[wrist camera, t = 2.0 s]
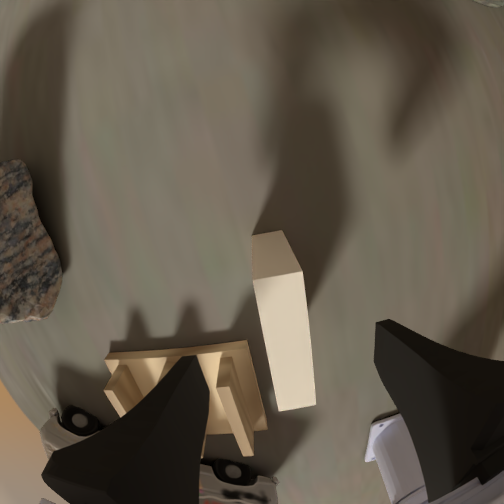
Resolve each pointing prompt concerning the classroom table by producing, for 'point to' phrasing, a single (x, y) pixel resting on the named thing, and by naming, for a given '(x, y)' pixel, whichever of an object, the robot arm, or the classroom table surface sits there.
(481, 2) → the vessel
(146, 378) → the rack
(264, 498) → the toy car
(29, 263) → the stone
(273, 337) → the tall cream block
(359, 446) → the classroom table surface
